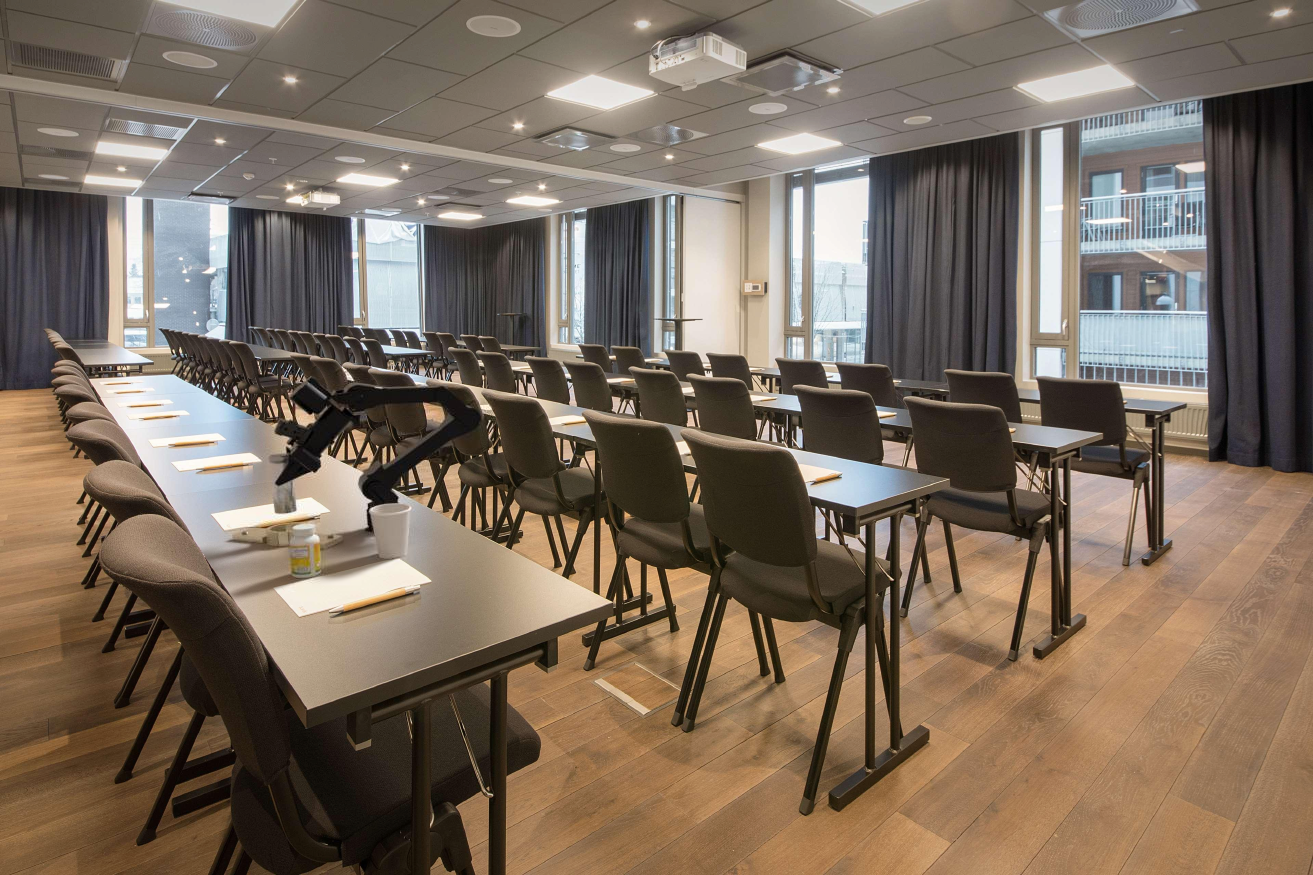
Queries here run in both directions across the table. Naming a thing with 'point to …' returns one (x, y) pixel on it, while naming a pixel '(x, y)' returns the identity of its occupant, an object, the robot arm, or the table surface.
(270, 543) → the hinge
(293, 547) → the supplement bottle
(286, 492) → the grey cylinder
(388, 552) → the dixie cup
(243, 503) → the table surface
